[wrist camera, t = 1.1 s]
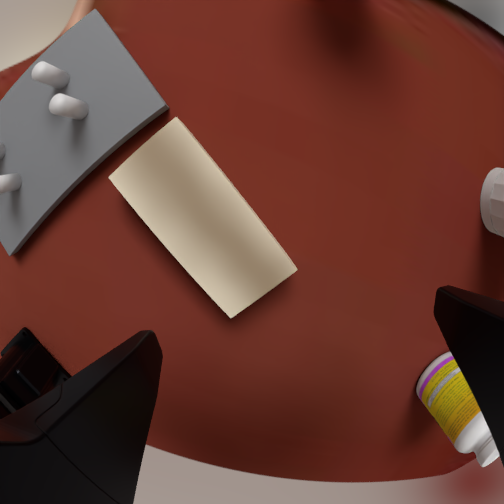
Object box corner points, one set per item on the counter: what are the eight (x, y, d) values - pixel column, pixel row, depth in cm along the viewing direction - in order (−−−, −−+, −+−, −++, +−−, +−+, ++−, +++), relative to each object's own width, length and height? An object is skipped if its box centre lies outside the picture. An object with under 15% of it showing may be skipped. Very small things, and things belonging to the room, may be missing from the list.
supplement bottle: (403, 397, 26) (459, 482, 14) (433, 347, 24) (509, 429, 12) (441, 394, 27) (495, 464, 15) (468, 349, 25) (536, 414, 13)
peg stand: (17, 251, 18) (-14, 269, 14) (-31, 159, 15) (-63, 163, 11) (169, 108, 16) (154, 93, 12) (101, 15, 13) (78, -10, 9)
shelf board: (229, 297, 21) (230, 318, 18) (125, 174, 18) (108, 177, 15) (287, 254, 20) (297, 269, 17) (183, 123, 17) (176, 116, 14)
